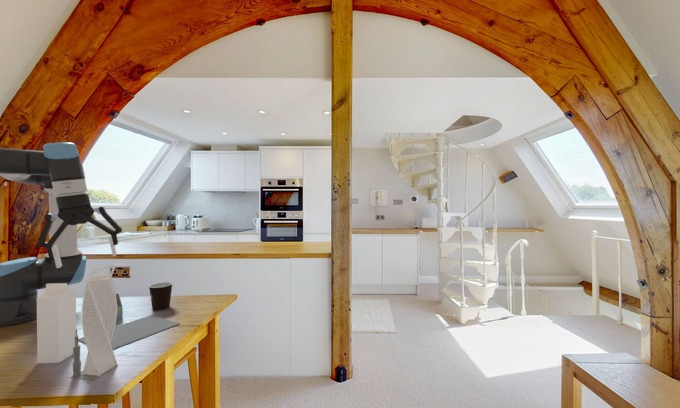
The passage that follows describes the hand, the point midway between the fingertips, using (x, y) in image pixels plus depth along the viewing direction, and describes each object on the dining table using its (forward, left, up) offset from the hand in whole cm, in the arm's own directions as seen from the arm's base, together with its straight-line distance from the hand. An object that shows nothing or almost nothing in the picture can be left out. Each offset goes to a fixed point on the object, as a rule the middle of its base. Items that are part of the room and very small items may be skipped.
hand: (88, 260), depth 93 cm
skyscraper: (+16, +10, -28) cm, 34 cm away
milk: (+5, -5, -28) cm, 29 cm away
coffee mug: (-34, +12, -28) cm, 45 cm away
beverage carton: (-29, -6, -28) cm, 41 cm away
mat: (-9, +9, -27) cm, 30 cm away
